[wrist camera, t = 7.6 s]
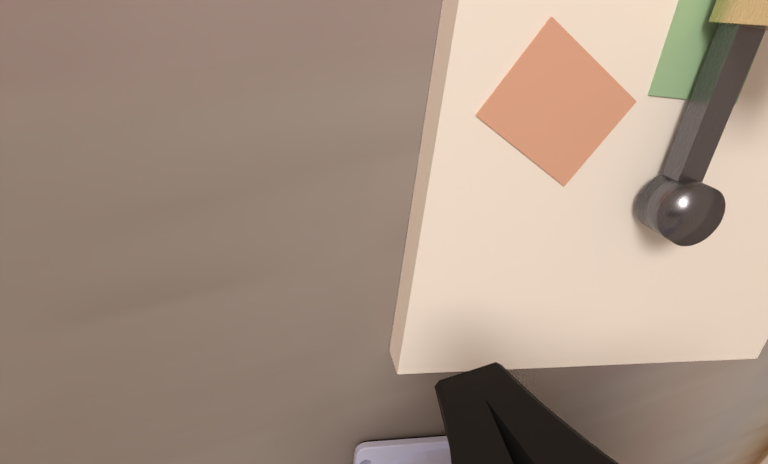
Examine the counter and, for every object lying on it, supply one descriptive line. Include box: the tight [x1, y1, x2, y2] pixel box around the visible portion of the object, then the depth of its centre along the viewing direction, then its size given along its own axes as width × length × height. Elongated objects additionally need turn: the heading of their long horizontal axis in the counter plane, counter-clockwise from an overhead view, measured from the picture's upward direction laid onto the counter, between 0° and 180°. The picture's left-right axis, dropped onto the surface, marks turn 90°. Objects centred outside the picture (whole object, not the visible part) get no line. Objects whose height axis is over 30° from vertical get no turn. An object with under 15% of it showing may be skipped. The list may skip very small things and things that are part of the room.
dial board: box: [389, 0, 768, 374], centre depth 19 cm, size 16×18×2 cm
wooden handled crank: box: [636, 0, 768, 246], centre depth 15 cm, size 9×2×5 cm, turn 172°
